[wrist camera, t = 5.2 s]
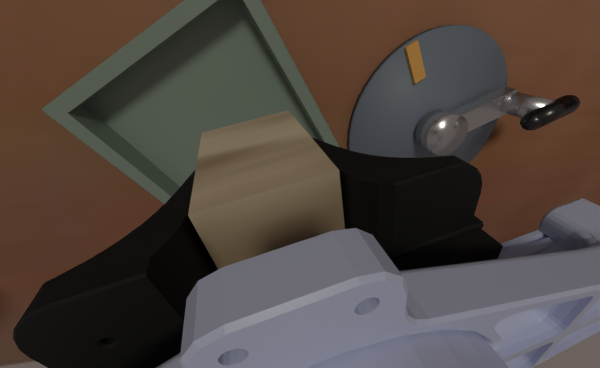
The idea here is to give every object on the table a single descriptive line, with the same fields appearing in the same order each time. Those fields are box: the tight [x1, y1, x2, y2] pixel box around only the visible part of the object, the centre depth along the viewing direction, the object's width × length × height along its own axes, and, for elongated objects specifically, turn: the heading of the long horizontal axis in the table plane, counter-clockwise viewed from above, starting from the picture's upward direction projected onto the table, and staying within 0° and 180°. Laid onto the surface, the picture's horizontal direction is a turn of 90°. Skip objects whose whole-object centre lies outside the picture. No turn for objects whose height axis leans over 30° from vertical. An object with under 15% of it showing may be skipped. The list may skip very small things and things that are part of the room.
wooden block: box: [188, 110, 345, 270], centre depth 10 cm, size 4×4×6 cm
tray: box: [41, 0, 339, 204], centre depth 18 cm, size 13×13×2 cm
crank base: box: [347, 25, 507, 163], centre depth 24 cm, size 16×16×1 cm
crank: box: [415, 86, 580, 156], centre depth 21 cm, size 10×4×5 cm, turn 110°
